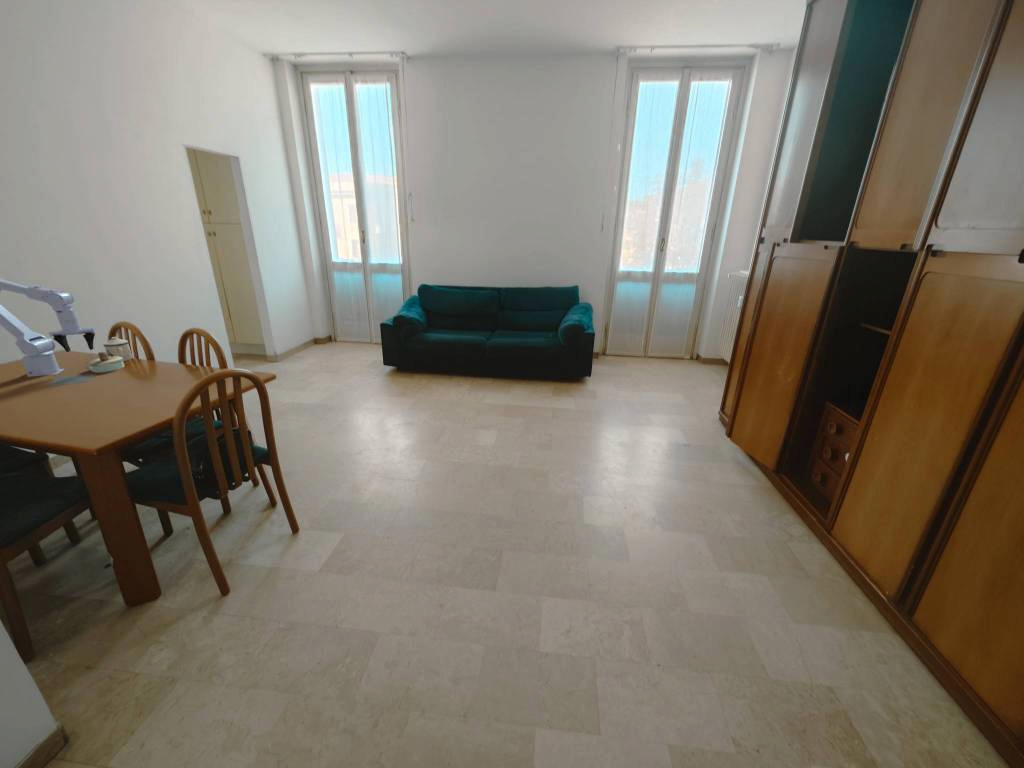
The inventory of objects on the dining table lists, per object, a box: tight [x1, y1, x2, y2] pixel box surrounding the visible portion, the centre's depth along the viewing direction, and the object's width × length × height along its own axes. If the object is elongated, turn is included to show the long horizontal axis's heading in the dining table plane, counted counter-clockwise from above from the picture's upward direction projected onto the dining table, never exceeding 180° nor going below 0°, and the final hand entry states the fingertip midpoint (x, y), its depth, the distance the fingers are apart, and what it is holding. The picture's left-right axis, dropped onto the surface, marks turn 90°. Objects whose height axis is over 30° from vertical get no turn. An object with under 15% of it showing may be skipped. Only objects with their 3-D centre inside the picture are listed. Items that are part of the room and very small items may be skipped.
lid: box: [86, 351, 123, 367], centre depth 184 cm, size 12×12×4 cm
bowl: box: [89, 360, 125, 373], centre depth 186 cm, size 11×11×4 cm
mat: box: [46, 373, 97, 387], centre depth 172 cm, size 12×12×1 cm
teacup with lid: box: [103, 336, 134, 362], centre depth 197 cm, size 12×9×12 cm
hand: (80, 350), depth 179 cm, fingers open, 7 cm apart
